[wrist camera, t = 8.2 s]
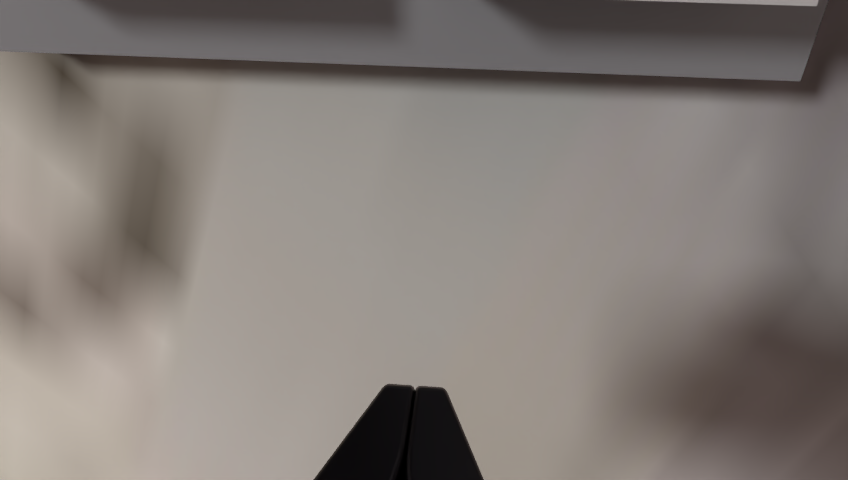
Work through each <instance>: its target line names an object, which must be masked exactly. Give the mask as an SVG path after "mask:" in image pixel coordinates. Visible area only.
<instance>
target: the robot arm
mask: <svg viewBox="0 0 848 480" xmlns="http://www.w3.org/2000/svg"><path fill="white" fill-rule="evenodd" d="M314 480H484V479H483V477H482V475H481V472H480V470H479V467H478V465H477V463H476V460H475V458H474V455H473V453H472V451H471V448H470V446H469V443H468V441H467V439H466V436H465V434H464V431H463V429H462V427H461V424H460V422H459V419H458V417H457V415H456V412H455V410H454V407H453V405H452V403H451V400H450V398H449V395H448V393H447V391H446V390H445V389H444V388H441V387H428V386H419V387H417V388H416V390H415V389H414V387H412V386H410V385H397V384H387V385H385V386H384V387H383V388H382V389H381V391H380V392H379V393H378V395H377V396H376V397H375V399H374V400H373V401H372V403H371V404H370V405H369V407H368V408H367V409H366V411H365V412H364V413H363V415H362V416H361V417H360V419H359V420H358V421H357V423H356V424H355V425H354V427H353V428H352V429H351V431H350V432H349V433H348V435H347V436H346V437H345V439H344V440H343V441H342V443H341V444H340V445H339V447H338V448H337V449H336V451H335V452H334V453H333V455H332V456H331V457H330V459H329V460H328V461H327V463H326V464H325V465H324V467H323V468H322V469H321V471H320V472H319V473H318V475H317V476H316V477H315V479H314Z"/></svg>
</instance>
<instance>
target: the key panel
mask: <svg viewBox="0 0 848 480" xmlns="http://www.w3.org/2000/svg"><path fill="white" fill-rule="evenodd" d="M828 1H829V0H0V51H10V52H37V53H63V54H89V55H116V56H142V57H169V58H195V59H222V60H248V61H275V62H301V63H328V64H354V65H380V66H407V67H433V68H460V69H486V70H513V71H539V72H566V73H592V74H619V75H645V76H671V77H698V78H724V79H751V80H777V81H801V78H802V75H803V72H804V69H805V66H806V64H807V61H808V58H809V55H810V52H811V49H812V46H813V44H814V41H815V38H816V35H817V32H818V29H819V26H820V23H821V21H822V18H823V15H824V12H825V9H826V6H827V3H828Z"/></svg>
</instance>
